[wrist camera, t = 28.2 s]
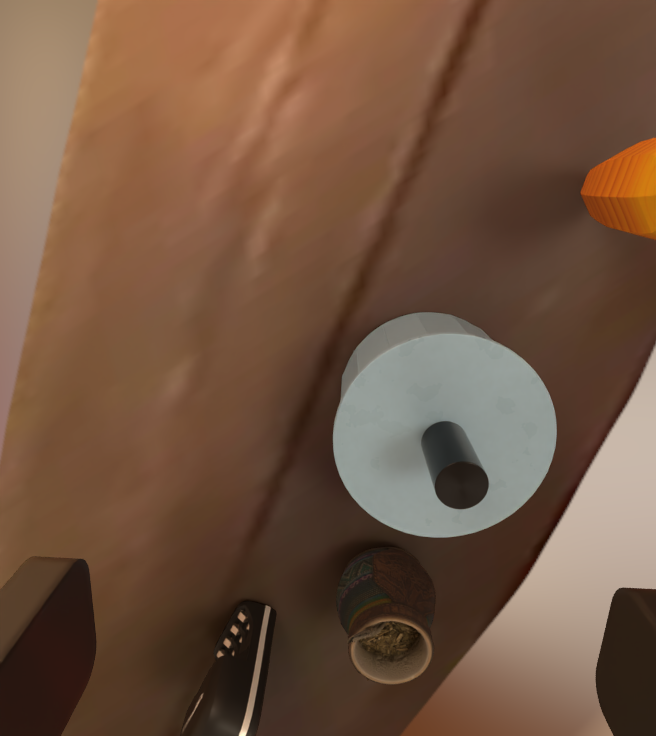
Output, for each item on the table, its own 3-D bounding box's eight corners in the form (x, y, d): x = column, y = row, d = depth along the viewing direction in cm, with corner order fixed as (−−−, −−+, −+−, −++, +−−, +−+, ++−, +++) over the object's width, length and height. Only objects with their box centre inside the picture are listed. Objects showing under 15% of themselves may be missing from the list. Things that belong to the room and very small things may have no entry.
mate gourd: (390, 626, 45) (403, 742, 36) (314, 579, 44) (306, 685, 35) (448, 566, 44) (477, 671, 34) (370, 514, 42) (378, 608, 33)
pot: (345, 308, 38) (345, 335, 31) (518, 315, 38) (559, 344, 30) (337, 464, 41) (336, 520, 34) (496, 472, 41) (528, 530, 34)
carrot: (548, 153, 34) (694, 126, 20) (631, 141, 34) (839, 105, 20) (549, 236, 36) (687, 265, 22) (629, 225, 36) (822, 247, 21)
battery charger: (236, 587, 45) (201, 715, 34) (279, 605, 45) (259, 738, 34) (202, 649, 47) (159, 790, 36) (244, 667, 47) (214, 810, 36)
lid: (337, 324, 31) (336, 354, 25) (566, 334, 31) (618, 367, 25) (328, 522, 35) (326, 588, 29) (532, 532, 35) (571, 601, 29)
